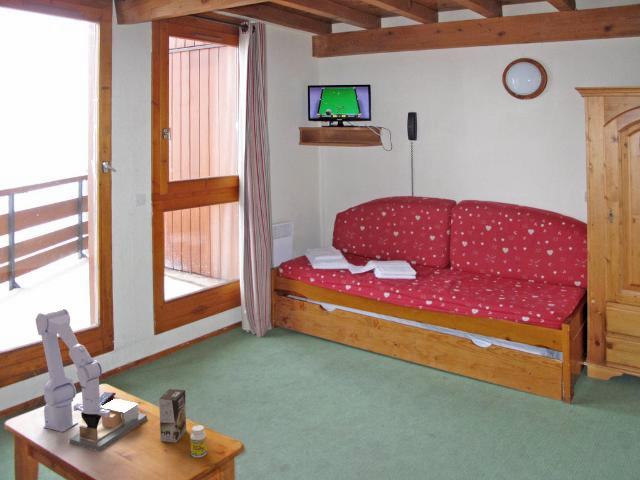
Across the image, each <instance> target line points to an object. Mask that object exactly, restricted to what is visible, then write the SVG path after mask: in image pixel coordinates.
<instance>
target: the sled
mask: <svg viewBox="0 0 640 480" xmlns="http://www.w3.org/2000/svg"><path fill="white" fill-rule="evenodd" d="M121 421H122V418H121ZM120 426H122V422H121V423H119V424H117V425H116V426H114V427H113V428H111V427H107V426H103V425H102V424H100V425H98V427H97V429H95V428H91V427H87V425H81V424H80V426H78V427H79V433H80V439H84V440H88V441H92V442H97V441H99V440H100V439H102V438H103V437H105V436H106V435H108V434H110V433H111V432H113V431H114V430H116V429H117V428H119V427H120Z"/></svg>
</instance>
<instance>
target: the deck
mask: <svg viewBox="0 0 640 480" xmlns="http://www.w3.org/2000/svg"><path fill="white" fill-rule="evenodd" d="M121 418H122V413H121ZM147 419H148V415H147V414H143V413H141V412H140V413H139V412H138V419H136V420H135V421H133V422H132V423H130V424H129V425H127V426H126V427H123V426H120V427H119V428H117V429H116V430H114V431H113V432H111V433H110V434H108V435H106V436H105V437H103V438H102V439H100V440H99V441H97V442H92V441H88V440H84V439H80V432H78V433H77V434H76V435H74V436H73V437H71V438H69V444H70V445H71V444H72V445H75V446H79V447H82V448H87V449H90V450H95V451H98V452H101V451H102V450H103V449H105V448H106V447H108V446H109V445H111V444H112V443H114V442H115V441H117V440H118V439H119V438H121V437H122V436H124V435H126V434H127V433H128V432H130V431H132V430H133V429H134V428H136V427H138V426H139V425H140V424H142V423H144V422H145V421H146V420H147ZM100 424H102V419H100V420H99V423H98V425H100Z"/></svg>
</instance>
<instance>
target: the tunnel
mask: <svg viewBox="0 0 640 480" xmlns="http://www.w3.org/2000/svg"><path fill="white" fill-rule="evenodd" d="M101 406H102V407H103V408H105V409H107V410H110V411H115V412H119V413H122V426H123V427H126V426H127V425H129V424H130V423H132V422H133V421H135V420H136V419H138V413H139V409H138V408H139V407H138V403H136V402H130V401H127V400H122V399H118V398H113V400H111V401H109V402H107V403H105V404H104V405H101Z"/></svg>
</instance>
